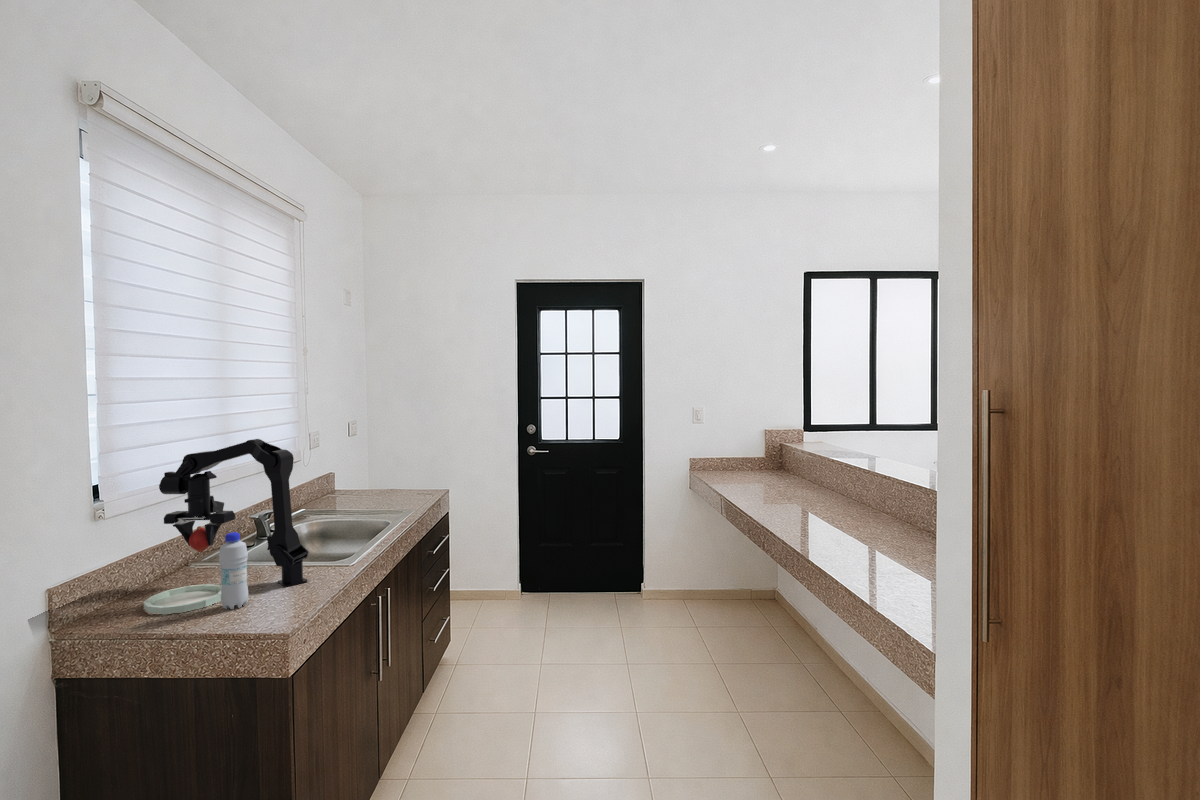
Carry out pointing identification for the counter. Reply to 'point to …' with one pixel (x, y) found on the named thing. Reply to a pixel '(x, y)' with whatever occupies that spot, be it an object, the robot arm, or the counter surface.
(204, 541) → the onion
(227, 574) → the bottle
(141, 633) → the counter surface
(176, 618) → the counter surface
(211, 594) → the plate
